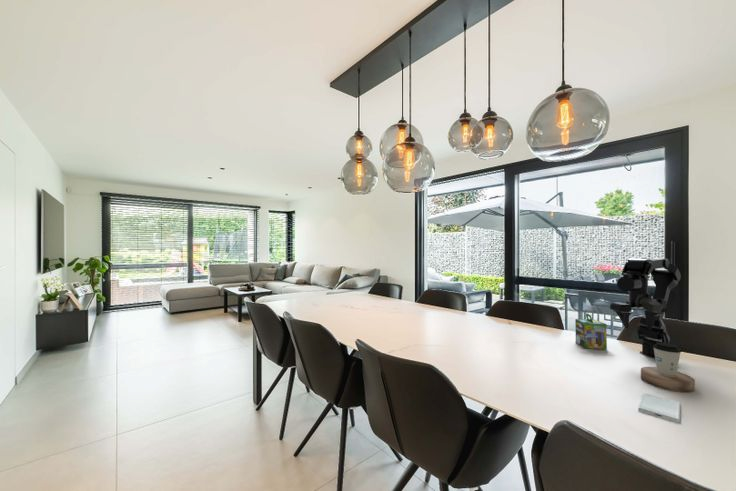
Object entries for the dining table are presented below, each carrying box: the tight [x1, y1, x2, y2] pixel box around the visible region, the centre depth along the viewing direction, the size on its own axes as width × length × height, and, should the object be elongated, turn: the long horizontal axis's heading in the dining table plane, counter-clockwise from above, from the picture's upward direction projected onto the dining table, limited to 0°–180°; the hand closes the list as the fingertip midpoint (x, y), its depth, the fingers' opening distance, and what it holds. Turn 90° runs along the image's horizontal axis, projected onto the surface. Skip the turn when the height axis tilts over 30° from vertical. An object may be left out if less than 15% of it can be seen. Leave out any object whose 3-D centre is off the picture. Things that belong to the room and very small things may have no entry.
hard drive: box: [637, 393, 681, 424], centre depth 87 cm, size 2×8×12 cm
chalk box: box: [575, 312, 608, 350], centre depth 141 cm, size 9×9×15 cm
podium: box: [640, 366, 696, 393], centre depth 103 cm, size 13×13×3 cm
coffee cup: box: [653, 342, 682, 377], centre depth 104 cm, size 7×7×10 cm
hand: (638, 328), depth 123 cm, fingers open, 9 cm apart
